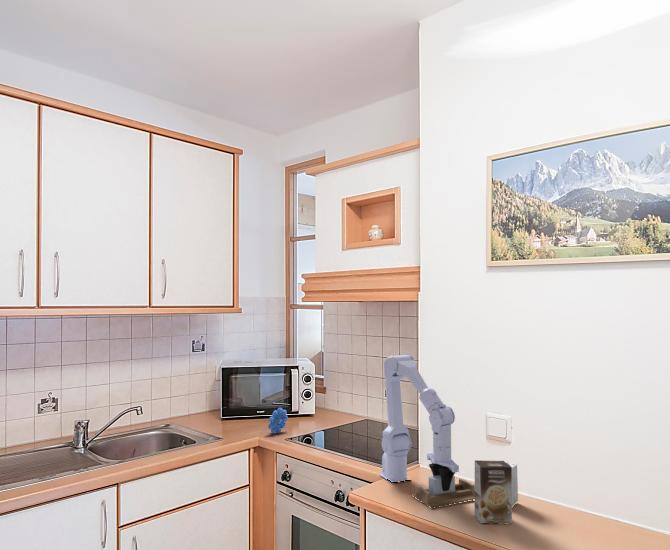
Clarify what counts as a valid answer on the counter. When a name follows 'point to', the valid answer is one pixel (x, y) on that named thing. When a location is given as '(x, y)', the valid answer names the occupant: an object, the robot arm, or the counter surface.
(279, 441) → the counter surface
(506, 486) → the coffee box
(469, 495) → the wooden tray
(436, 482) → the door panel
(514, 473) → the skincare box
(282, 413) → the grapes
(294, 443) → the counter surface
